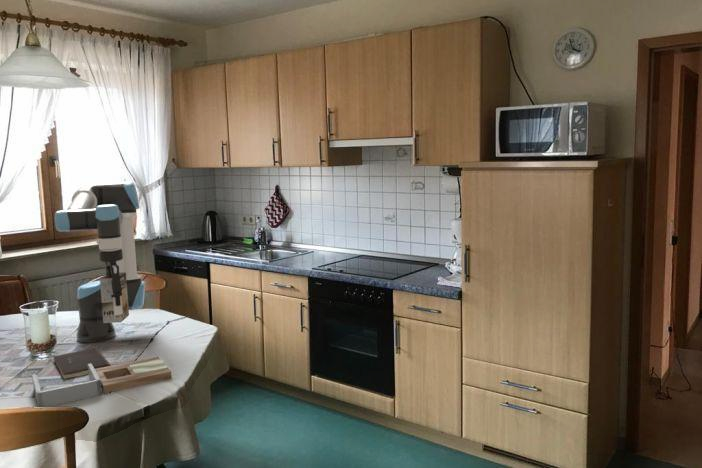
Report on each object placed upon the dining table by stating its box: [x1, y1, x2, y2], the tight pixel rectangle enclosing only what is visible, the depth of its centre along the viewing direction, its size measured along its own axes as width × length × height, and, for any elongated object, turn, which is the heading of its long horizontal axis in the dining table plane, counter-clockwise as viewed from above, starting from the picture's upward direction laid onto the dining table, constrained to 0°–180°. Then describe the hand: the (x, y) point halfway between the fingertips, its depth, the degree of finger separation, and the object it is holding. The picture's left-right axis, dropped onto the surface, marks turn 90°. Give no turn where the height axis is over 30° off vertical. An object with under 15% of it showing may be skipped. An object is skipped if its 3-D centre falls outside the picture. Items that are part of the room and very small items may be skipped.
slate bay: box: [31, 363, 103, 408], centre depth 202 cm, size 18×18×5 cm
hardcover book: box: [52, 347, 112, 380], centre depth 227 cm, size 16×23×2 cm
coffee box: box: [99, 272, 130, 324], centre depth 217 cm, size 9×6×16 cm
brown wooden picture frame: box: [95, 356, 172, 394], centre depth 214 cm, size 18×22×3 cm
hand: (116, 310), depth 218 cm, fingers closed on coffee box, 10 cm apart
